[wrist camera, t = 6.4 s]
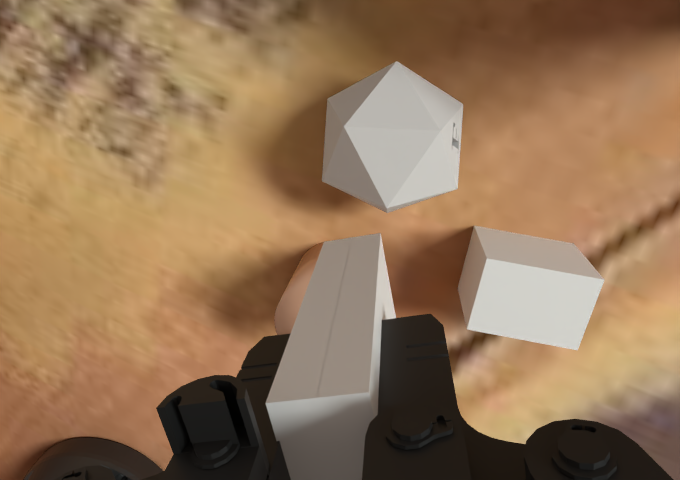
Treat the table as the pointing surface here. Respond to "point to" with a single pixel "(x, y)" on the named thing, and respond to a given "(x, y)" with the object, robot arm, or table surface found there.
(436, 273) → the table surface
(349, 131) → the die
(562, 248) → the grey block
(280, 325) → the beige rounded smooth part
